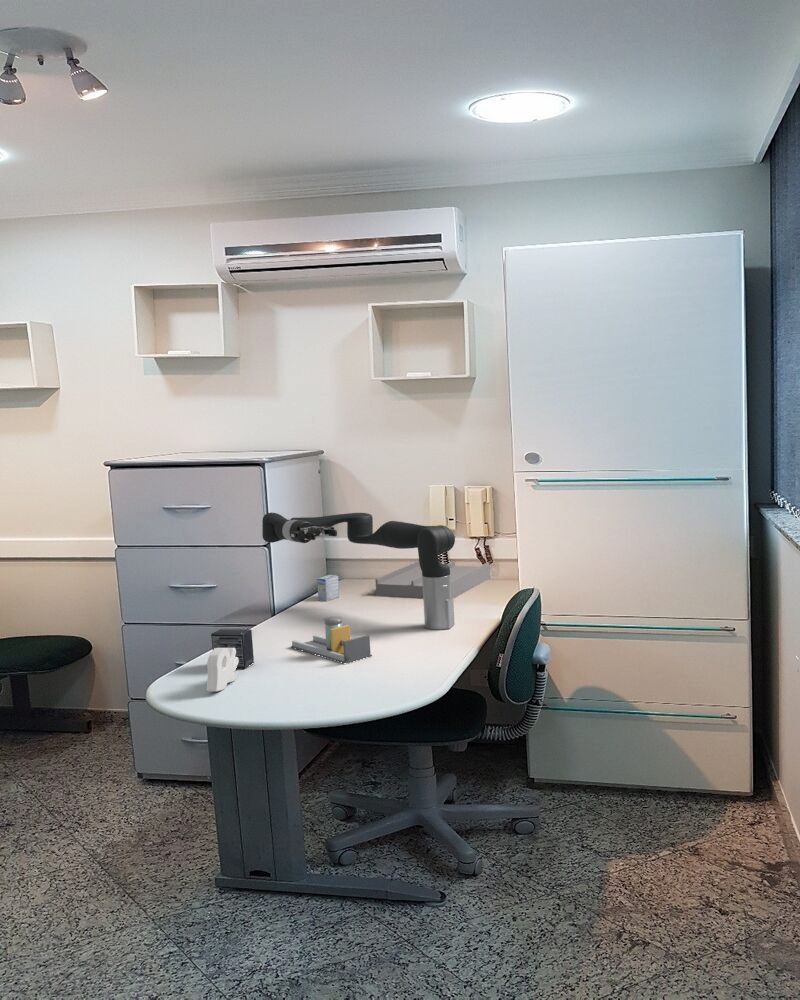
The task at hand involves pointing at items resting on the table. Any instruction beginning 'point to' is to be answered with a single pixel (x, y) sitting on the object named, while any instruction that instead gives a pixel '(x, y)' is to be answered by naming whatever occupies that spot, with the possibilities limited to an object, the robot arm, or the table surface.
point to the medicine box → (328, 587)
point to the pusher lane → (352, 652)
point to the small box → (236, 644)
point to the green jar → (331, 624)
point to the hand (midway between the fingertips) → (325, 534)
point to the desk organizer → (411, 584)
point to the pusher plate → (339, 638)
